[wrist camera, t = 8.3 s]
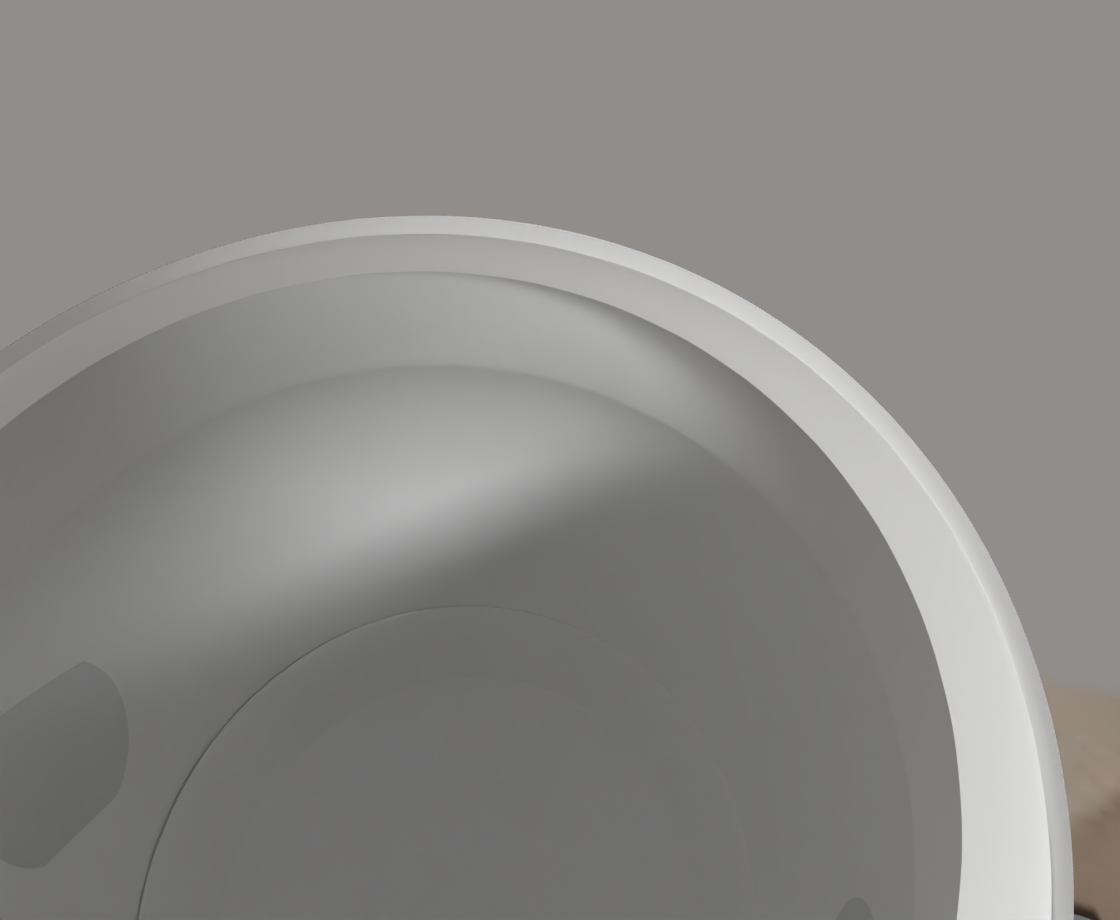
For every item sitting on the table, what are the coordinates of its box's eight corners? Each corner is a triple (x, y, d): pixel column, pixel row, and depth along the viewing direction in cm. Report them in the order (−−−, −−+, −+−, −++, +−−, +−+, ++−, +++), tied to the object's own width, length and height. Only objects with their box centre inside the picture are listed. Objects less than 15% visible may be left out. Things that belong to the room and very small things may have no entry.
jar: (374, 614, 24) (207, 87, 11) (787, 798, 22) (1171, 423, 9) (92, 1096, 19) (-858, 1171, 6) (601, 1392, 17) (879, 2489, 4)
